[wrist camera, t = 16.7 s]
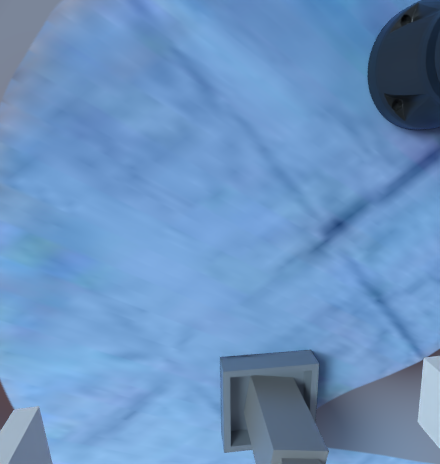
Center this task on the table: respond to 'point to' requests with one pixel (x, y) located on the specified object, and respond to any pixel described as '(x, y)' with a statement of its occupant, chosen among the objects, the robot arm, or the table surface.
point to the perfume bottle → (281, 423)
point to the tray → (237, 383)
